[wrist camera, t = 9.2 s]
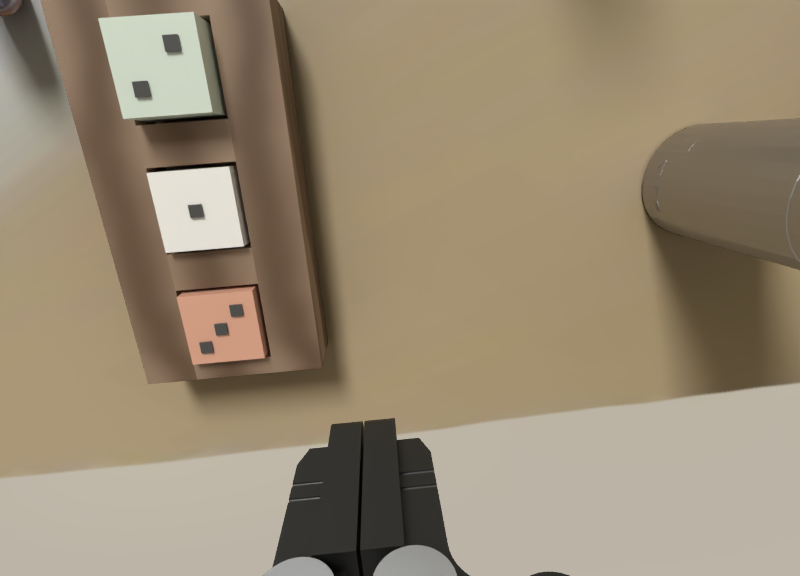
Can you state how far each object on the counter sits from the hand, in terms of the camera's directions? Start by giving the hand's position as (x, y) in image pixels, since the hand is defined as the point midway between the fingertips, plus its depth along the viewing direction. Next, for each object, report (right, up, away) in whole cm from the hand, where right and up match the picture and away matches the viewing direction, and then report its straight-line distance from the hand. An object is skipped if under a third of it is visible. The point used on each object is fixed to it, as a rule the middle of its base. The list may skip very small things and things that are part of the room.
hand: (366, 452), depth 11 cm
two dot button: (-14, +19, +20) cm, 31 cm away
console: (-14, +11, +26) cm, 32 cm away
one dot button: (-14, +10, +24) cm, 30 cm away
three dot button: (-13, +2, +27) cm, 30 cm away
